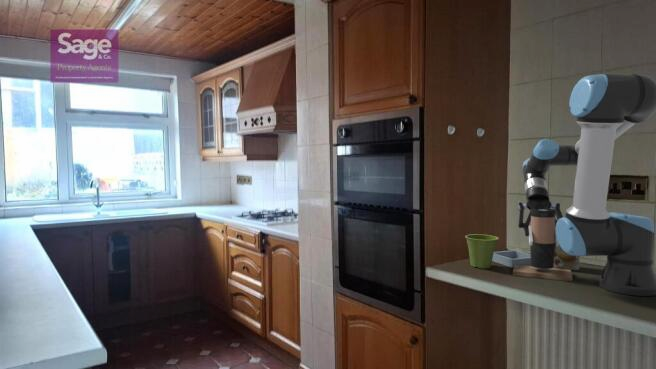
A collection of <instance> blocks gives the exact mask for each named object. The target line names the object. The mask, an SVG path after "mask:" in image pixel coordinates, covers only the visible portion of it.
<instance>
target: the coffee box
mask: <svg viewBox="0 0 656 369" xmlns="http://www.w3.org/2000/svg"><path fill="white" fill-rule="evenodd" d="M580 257H581V256H575V255H569V254H567V253H565V252H564V251H563V250H562V248H561V247H560V245H559V246H558V247H556V245H555V251H554V267H553V268H556V269H567V270H571V271H572V270H573V271H579V270H580V259H581V258H580Z"/></svg>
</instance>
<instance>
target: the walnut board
mask: <svg viewBox="0 0 656 369" xmlns="http://www.w3.org/2000/svg"><path fill="white" fill-rule="evenodd" d="M512 276H518V277H525V278H526V277H527V278H534V279H546V280H555V281H563V282H565V281H566V282H573V274H572V270H568V269H556V268H551V269H542V268H536V267H532V266H524V265H514V267H513V269H512Z"/></svg>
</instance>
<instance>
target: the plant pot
mask: <svg viewBox="0 0 656 369" xmlns="http://www.w3.org/2000/svg"><path fill="white" fill-rule="evenodd" d="M464 237H465V239H466V244H467V247H468V254H469V255H468V256H469V262H470V266H472V267H473V268H476V267H477V268H478V269H489V268H491V267H492V263H493V261H492V258H493V253H494V252H495V248H496V245H497V241H498V240H499V237H497V236H494V235H490V234H481V233H480V234H479V233H478V234H477V233H475V234H472V233H471V234H466V235H465V236H464Z"/></svg>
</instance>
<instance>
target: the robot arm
mask: <svg viewBox="0 0 656 369" xmlns="http://www.w3.org/2000/svg"><path fill="white" fill-rule="evenodd" d="M569 108H570V109H569V110H570V113H571V115H572V116H574V117H576V123H577V125H579V127H580V128H581V130H580V136H579V137H580V139H578V140H577V142H575V143H574V144H572V145H571V144H569V145H565V144H564V145H563V144H562V145H561V144H560V145H559V143H558V142H557V141H555V140H553V139H548V138H544V139H541V140H539V141H538V142H537V144H536V145H535V147H534V149H533V150H532V151H533V152H532V153H531V155H530V157H529V158H526V160H524V161H523V163H522V175H523V176H522V177H523V181H524V190H525V199H526V201H525V202H526V203H523V202H518V206H517V209H518V210H519V214H518V215H519V216H518V228H519V229H523V231H524V236H525V237H528V244H529V246H532V243H533V237H532V229H531V209H534V208H549V209H555V245H556V247H558V246H559V245H560V247H561V248H562V250H563V251H564V252H565V253H567V254H569V255H575V256H580V257H590V256H592V257H601V256H603V257H604V256H606V263H605V265H604V267H603V270H602V272H601V275H600V277H599V286H600V287H601V288H602V289H604V290H606V291H610V292H613V293H616V294H617V293H618V294H621V295H629V296H636V297H637V296H638V297H639V296H640V297H652V296H653V297H654V296H656V272H655V269H654V246H655V245H654V243H655V234H656V232H655V224H654V221H653V219H652V218H649V217H647V216H640V215H634V214H628V213H620V212H611V211H610V212H608V210H607V209H606V207H607V199H608V191H609V186H610V184H609V183H610V176H611V169H612V162H613V155H614V147H615V140H617V139H618V138H619V137H620V136H622V135H623V134H624V133H625V132H627V131H628V130H629V129H630V128H632V127H633V126H634V125H635V124H636V125H637V124H641V123H644V122H645V121H647V120H648V119H649V118H650V117H652V115H653V114H655V112H656V81H655V79H653V78H652V77H650V76H648V75H646V74H640V73H632V74H631V73H630V74H627V73H626V74H624V73H623V74H622V73H621V74H619V73H618V74H615V73H614V74H612V73H611V74H608V73H607V74H606V73H605V74H602V73H601V74H591V75H585V76H584V77H582V78H581V79H580V80H578V81H577V83H576V84H575V85H574V87H573V89H572V91H571V94H570V97H569ZM551 166H553V167H554V166H555V167H563V166H566V167H567V166H568V167H569V166H572V167H574V166H575V167H576V172H575V180H574V181H575V182H574V189H573V199H572V205H571V206H570V207H568V208H567V209H566V210H565V216H563V214H562V211H561V208H560V207H561V203H560V202H558V203H556V204H555V203H552V201H551V200H550V195H549V192H548V191H549V190H548V184H547V180H546V177H547V176H546V174H547V172H548V170H549V169H550V167H551ZM526 209H528V210H529V213H528V215H527V218H526V220H525V222H524V213H525V212H524V210H526Z"/></svg>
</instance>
